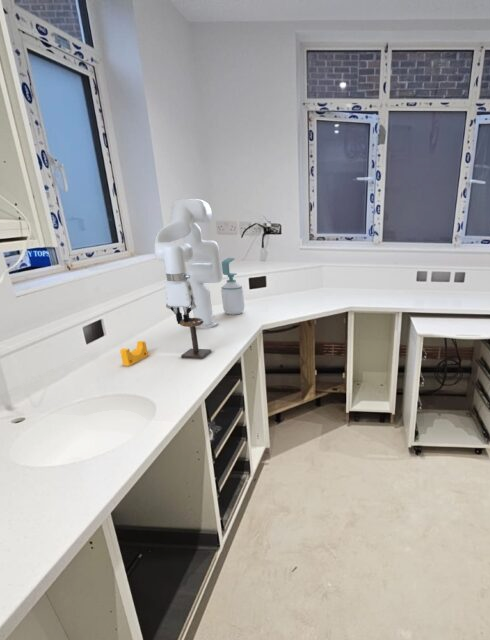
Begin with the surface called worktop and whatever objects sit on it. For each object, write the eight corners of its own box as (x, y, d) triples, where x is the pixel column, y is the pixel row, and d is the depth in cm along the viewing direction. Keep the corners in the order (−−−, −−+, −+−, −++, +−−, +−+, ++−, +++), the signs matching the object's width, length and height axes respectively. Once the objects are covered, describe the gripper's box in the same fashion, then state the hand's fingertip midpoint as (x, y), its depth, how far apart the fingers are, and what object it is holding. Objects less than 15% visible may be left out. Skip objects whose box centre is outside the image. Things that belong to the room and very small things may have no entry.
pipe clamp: (139, 355, 169) (136, 340, 166) (148, 356, 168) (145, 341, 165) (119, 365, 158) (115, 349, 155) (129, 366, 157) (125, 350, 155)
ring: (186, 321, 169) (185, 316, 168) (207, 322, 168) (206, 317, 168) (175, 326, 161) (175, 322, 160) (197, 327, 160) (197, 323, 159)
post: (191, 351, 174) (186, 321, 169) (211, 351, 174) (207, 322, 168) (181, 358, 166) (176, 327, 161) (202, 359, 165) (198, 327, 160)
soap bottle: (249, 312, 240) (244, 258, 228) (234, 316, 230) (228, 260, 218) (234, 309, 246) (229, 256, 234) (219, 313, 236) (212, 258, 224)
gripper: (200, 276, 160) (206, 321, 167) (162, 275, 162) (169, 320, 169) (192, 279, 153) (198, 326, 161) (152, 278, 155) (160, 325, 162)
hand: (183, 323), depth 165 cm, fingers closed on ring, 2 cm apart
